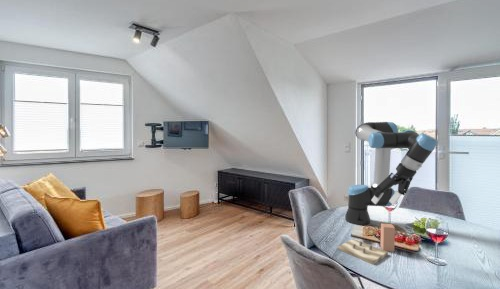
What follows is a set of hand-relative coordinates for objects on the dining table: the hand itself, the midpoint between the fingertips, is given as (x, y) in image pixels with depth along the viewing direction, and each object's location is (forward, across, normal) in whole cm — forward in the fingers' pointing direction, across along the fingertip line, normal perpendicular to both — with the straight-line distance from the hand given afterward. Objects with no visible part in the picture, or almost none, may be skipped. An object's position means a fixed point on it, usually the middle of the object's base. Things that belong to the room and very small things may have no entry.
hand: (382, 202), depth 120 cm
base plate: (+25, -3, -7) cm, 26 cm away
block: (+21, +10, -10) cm, 26 cm away
